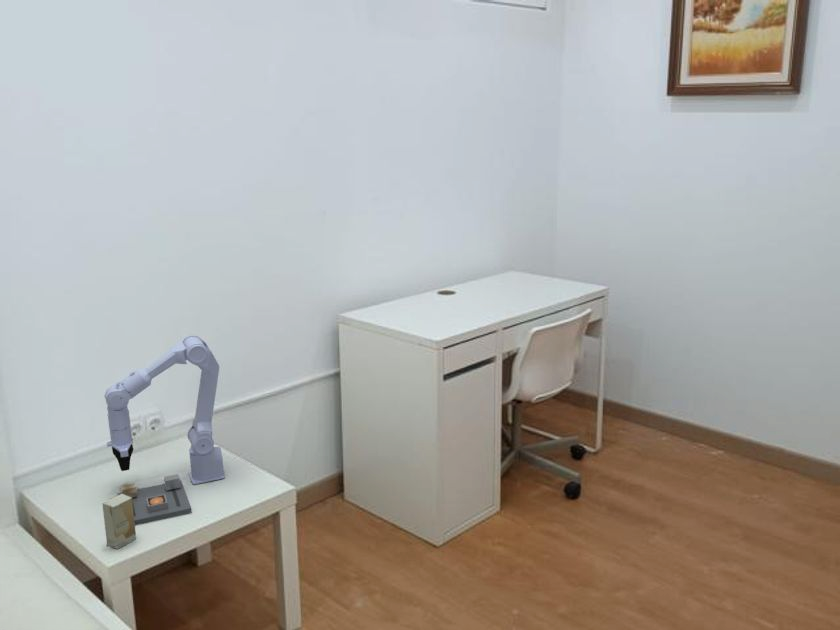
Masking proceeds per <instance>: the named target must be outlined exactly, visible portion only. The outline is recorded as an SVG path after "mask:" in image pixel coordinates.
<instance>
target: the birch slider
mask: <svg viewBox="0 0 840 630" xmlns="http://www.w3.org/2000/svg"><path fill="white" fill-rule="evenodd" d="M137 489H138V488H137V484H136V482H131V483H127V484H121V485H120V493H122V494H124V495H127V496H129V497H131V498H133V497H137Z"/></svg>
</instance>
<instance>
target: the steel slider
mask: <svg viewBox="0 0 840 630" xmlns="http://www.w3.org/2000/svg"><path fill="white" fill-rule="evenodd" d="M180 479H181V478H180V475H179V474H178V473H177V474H176V473H175V474H171V475H166V476H163V480H164V481H163V482H164V484H165V488H166V490H171V489H176V488H181V487H180Z"/></svg>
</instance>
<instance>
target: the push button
mask: <svg viewBox="0 0 840 630" xmlns="http://www.w3.org/2000/svg"><path fill="white" fill-rule="evenodd" d="M159 503H164V500H163V498H161V497H156V498H153V499H151V500H150V505H155V504H159Z"/></svg>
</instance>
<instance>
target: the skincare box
mask: <svg viewBox="0 0 840 630" xmlns="http://www.w3.org/2000/svg"><path fill="white" fill-rule="evenodd" d="M102 512H103V519H104V521H103V522H104V529H105V539H106V545H107V546H109V547H111V548H113V549H116V550H118V549H120V548H122V547H124V546H125V545H128V544H129V543H131V542H134V541H135V540H136V539H137V534H136V525H135V523H134V513H133V504H132V498H131V497H129V496H127V495H124V494H120V495H118V494H117V495H116V496H114V497H112V498H110V499H108V500H106V501H104V502H102Z"/></svg>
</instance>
